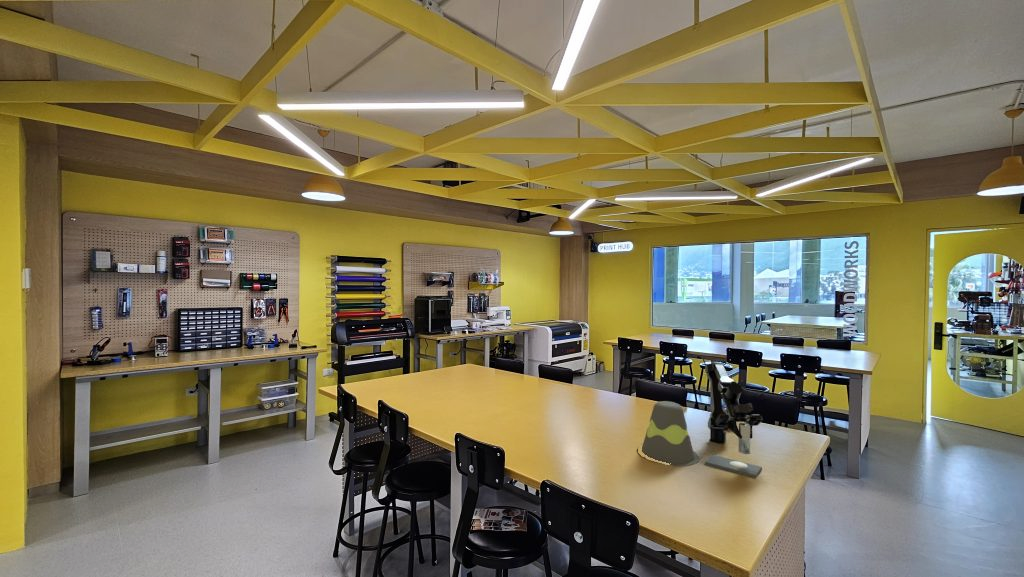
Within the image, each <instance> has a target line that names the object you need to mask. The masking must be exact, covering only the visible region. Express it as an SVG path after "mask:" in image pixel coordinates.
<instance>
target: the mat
mask: <svg viewBox="0 0 1024 577" xmlns="http://www.w3.org/2000/svg"><path fill="white" fill-rule="evenodd" d="M704 465H706V466H709V467H714V468H717V469H721V470H724V471H725V470H726V471H728V472H732V473H736V474H740V475H744V476H748V477H751V478H755V479H756V478H757V477H758V475H759V474H760V473H761V471H762V470H763V467H762V466H760V465H756V464H752V463H748V462H744V461H740V460H735V459H732V458H727V457H724V456H720V455H716V454H711V455H710V457H709V458H707V459H706V460H704Z"/></svg>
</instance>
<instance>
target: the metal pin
mask: <svg viewBox="0 0 1024 577" xmlns="http://www.w3.org/2000/svg"><path fill="white" fill-rule="evenodd" d="M738 429H739V432H740V434H741V439H740V438H739V437H738V453H740V454H743V455H750V454H751V438H750V425H749V424H746V423H744V422H738Z"/></svg>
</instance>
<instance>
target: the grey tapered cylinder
mask: <svg viewBox="0 0 1024 577" xmlns="http://www.w3.org/2000/svg"><path fill="white" fill-rule="evenodd" d="M686 420H687V419H686V417H685V413H684V408H683V407H682V405H681V404H679V403H676V402H674V401H669V400H663V401H657V402H655V404H654V405H653V409H652V412H651V415H650V419H649V424H648V427H647V429H646V432H645V437H644V440H643V443H642V445H643V446H642V452H643V453H644V454H645V455H647V456H648V457H650V458H653V459H655V460H658V461H662V462H666V463H669V464H670V463H671V464H670V465H674V466H673V467H689V466H693V465H696V464H697V463H699V462H700V460H701V458H700V455H699V454H698V453H697V452H695V451H694V449H693V445H692V441H691V437H690V435H689V431H688V426H687V421H686ZM698 461H699V462H698ZM695 463H696V464H695Z"/></svg>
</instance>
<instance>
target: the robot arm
mask: <svg viewBox="0 0 1024 577" xmlns="http://www.w3.org/2000/svg"><path fill="white" fill-rule="evenodd" d="M704 371H705V373H706V378H707V379H708V380H709V382H710V391H711V392H710V393H711V403H712V410H711V412H710V414H709V418H708V421H707V428H708V429H709V430H710V432H709V433H710V435H709V436H710V437H709V438H710V439H709V440H708V441H710V442H713V443H717V444H724V443H725V442H727V433H726V431H728V430H729V431H731V432H733V434H734V435H736V436H737V437H738V439H739V438H740V439H741V434H740V432H739V426H738V424H737V423H746V424H749V425H750V440H751V439H753V427H754V426H755V427H756V426H759V425H760V424H761V422H762V421H763V420H764V419H763V416H762V415H761V414H755V413H754V414H750V415H749V416H748V417H747V415H748V414H749V413H751V412H752V411H754V406H753V404H752V402H751V403H750V402H748V403H745V404H740V402H739V399H740V398H741V394H742V392H743V387H742V386H741V385H740V384H739V383H737V381H734V379H732V378H731V377H729V374H728V373H727V370H726V368H725V364H724V362H718V361H715V362H714V361H713V362H711V363H707V364H706V365H705V367H704ZM722 394H723V395H722ZM723 403H724V405H725V407H726V408H725V409H727V410H726V411H725V412H724V411H723V409H724V408H723ZM726 412H727V413H729V415H730V417H729V415H727V414H726ZM745 416H746V417H745Z"/></svg>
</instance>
